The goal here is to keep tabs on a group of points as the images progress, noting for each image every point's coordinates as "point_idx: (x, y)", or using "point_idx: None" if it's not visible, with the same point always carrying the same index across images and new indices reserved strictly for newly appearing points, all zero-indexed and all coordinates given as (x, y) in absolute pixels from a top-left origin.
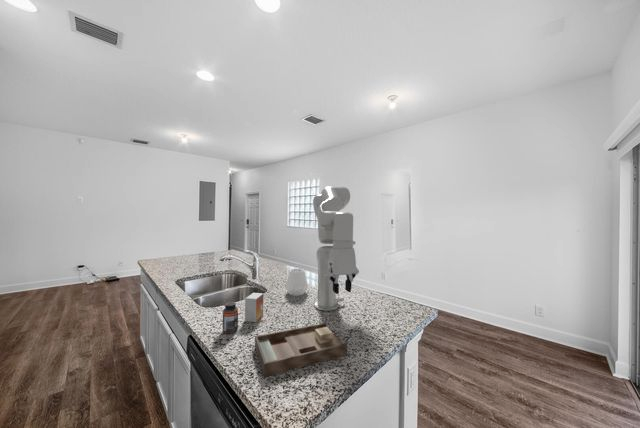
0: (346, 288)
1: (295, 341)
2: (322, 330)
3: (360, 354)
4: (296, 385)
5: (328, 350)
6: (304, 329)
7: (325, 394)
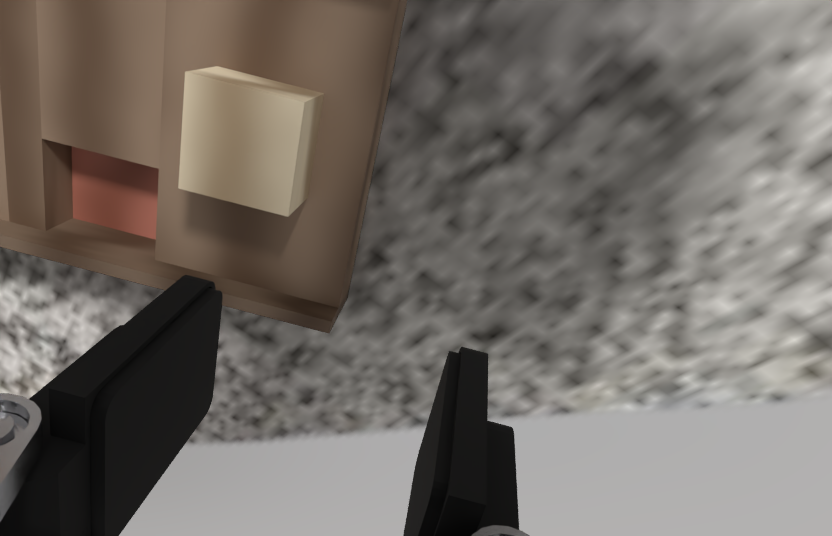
0: (436, 408)
1: (53, 27)
2: (232, 133)
3: (422, 338)
4: (3, 311)
5: None
6: None
7: None
